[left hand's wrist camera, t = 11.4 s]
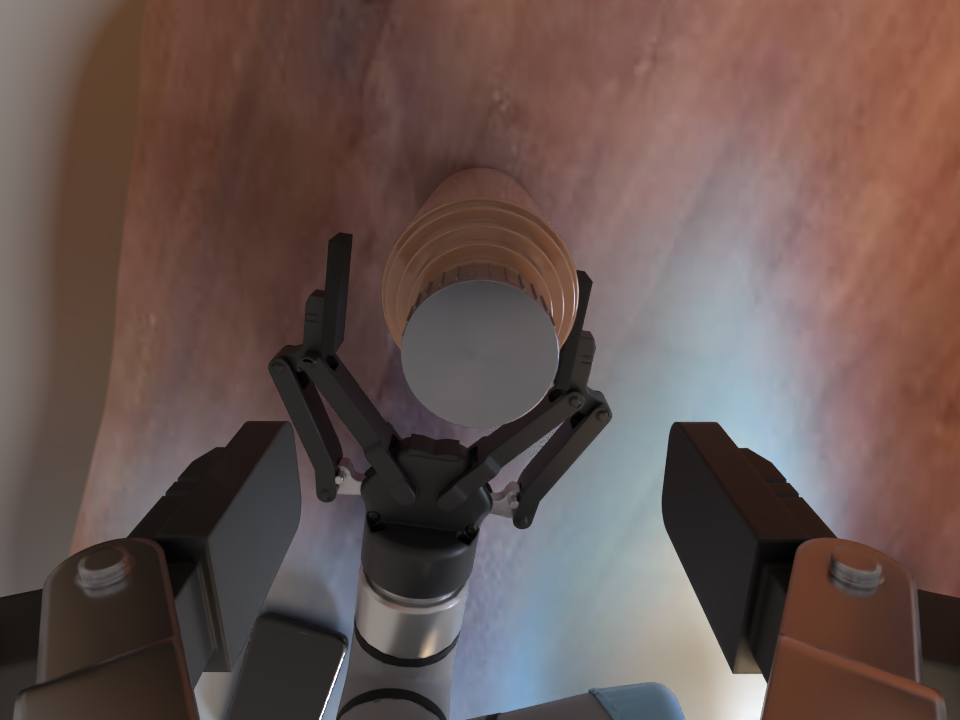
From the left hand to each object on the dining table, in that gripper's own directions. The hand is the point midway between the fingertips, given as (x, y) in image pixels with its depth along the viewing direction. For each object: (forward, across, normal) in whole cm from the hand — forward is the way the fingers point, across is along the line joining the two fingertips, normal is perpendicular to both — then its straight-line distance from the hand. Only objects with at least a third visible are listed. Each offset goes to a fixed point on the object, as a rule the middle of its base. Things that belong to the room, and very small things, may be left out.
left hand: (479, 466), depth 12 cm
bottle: (+31, 0, 0) cm, 31 cm away
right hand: (+24, +1, +1) cm, 24 cm away
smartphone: (+31, +17, +40) cm, 53 cm away
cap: (+6, 0, 0) cm, 6 cm away
